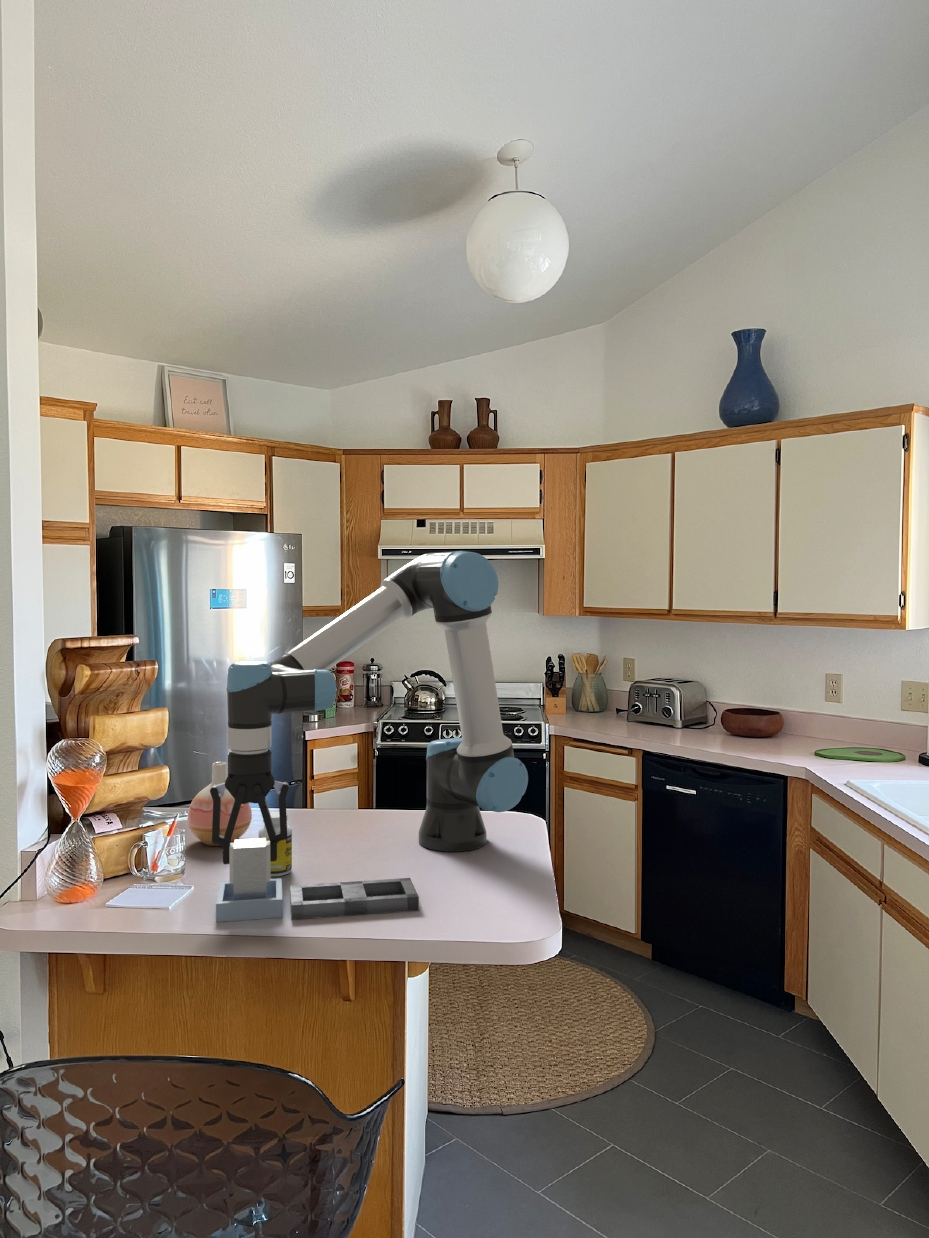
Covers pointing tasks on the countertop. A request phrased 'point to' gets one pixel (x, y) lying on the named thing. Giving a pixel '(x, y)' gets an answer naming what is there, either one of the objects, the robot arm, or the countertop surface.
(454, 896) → the countertop surface
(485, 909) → the countertop surface
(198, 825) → the vase
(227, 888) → the tray
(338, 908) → the grey slotted holder
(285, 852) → the pill bottle
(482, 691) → the robot arm
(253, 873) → the white block
